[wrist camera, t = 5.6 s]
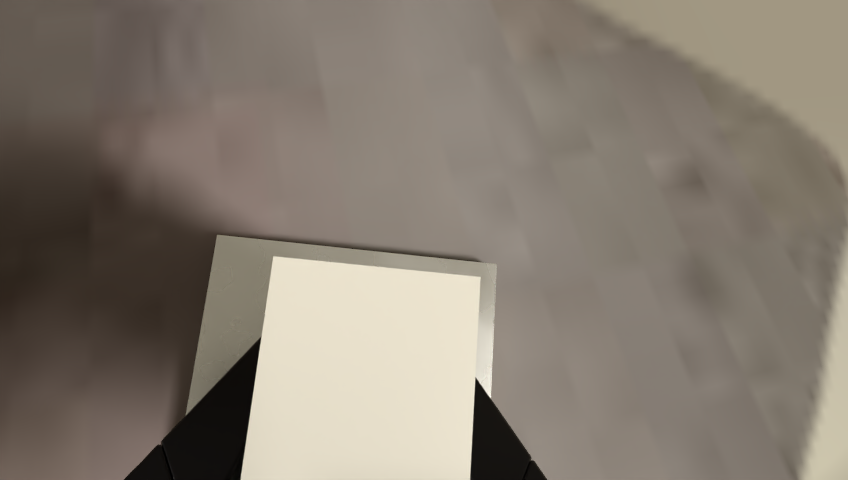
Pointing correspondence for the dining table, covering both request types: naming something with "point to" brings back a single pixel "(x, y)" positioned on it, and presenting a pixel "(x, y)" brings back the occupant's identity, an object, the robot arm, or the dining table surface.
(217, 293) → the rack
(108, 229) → the dining table surface
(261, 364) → the cream rectangular block
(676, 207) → the dining table surface
